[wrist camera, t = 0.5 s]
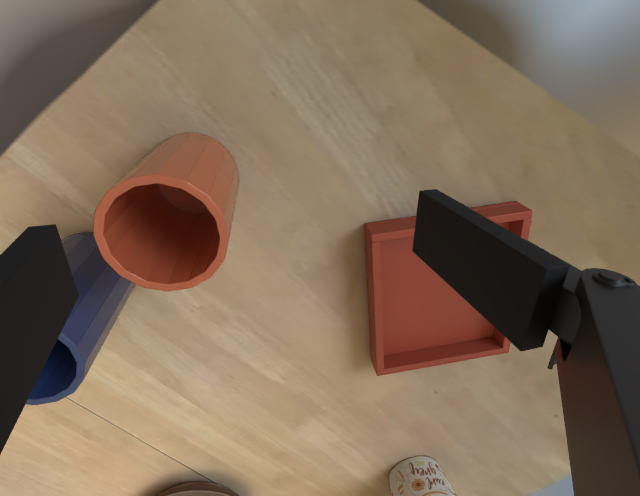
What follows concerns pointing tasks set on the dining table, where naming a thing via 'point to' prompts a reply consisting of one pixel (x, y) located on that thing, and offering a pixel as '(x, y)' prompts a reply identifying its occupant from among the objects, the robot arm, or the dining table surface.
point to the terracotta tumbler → (170, 214)
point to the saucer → (198, 490)
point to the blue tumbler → (82, 320)
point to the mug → (419, 478)
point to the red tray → (425, 299)
